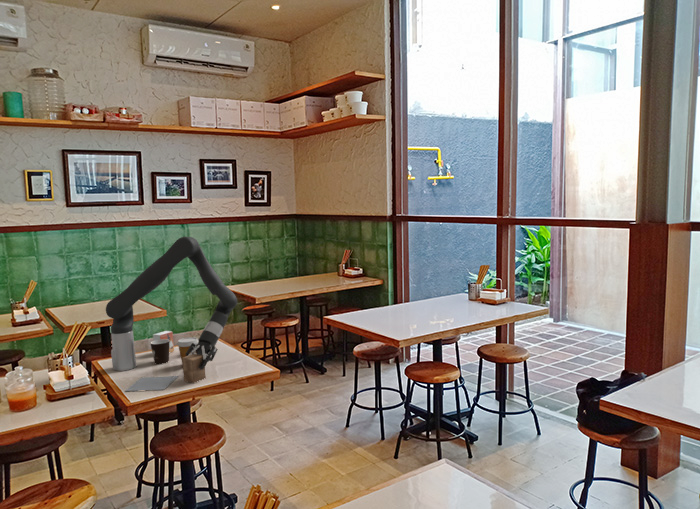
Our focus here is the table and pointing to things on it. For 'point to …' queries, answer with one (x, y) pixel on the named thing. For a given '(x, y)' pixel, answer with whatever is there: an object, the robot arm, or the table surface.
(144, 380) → the grey mat
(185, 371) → the walnut block
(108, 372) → the table surface
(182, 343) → the disposable coffee cup
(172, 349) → the small box
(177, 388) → the table surface
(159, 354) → the coffee mug
